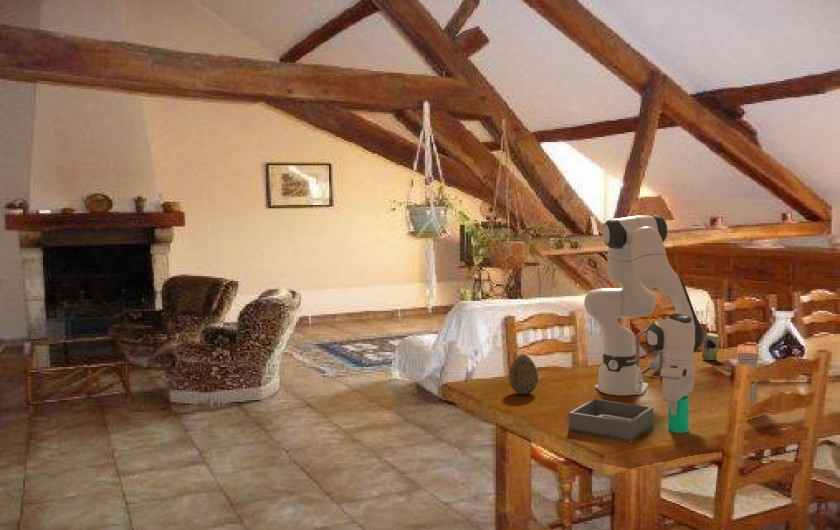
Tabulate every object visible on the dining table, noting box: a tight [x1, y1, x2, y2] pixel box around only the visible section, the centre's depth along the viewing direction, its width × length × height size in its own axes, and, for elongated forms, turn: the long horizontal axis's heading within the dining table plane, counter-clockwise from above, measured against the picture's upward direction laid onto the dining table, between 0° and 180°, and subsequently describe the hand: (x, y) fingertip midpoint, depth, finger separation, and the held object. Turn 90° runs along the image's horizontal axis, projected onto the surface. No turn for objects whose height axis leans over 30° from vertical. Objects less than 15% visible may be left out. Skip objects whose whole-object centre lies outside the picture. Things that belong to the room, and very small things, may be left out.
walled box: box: [568, 398, 654, 442], centre depth 243 cm, size 20×20×6 cm
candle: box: [667, 395, 690, 434], centre depth 241 cm, size 6×6×12 cm
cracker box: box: [736, 344, 758, 403], centre depth 263 cm, size 14×6×21 cm, turn 159°
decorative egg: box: [508, 353, 539, 396], centre depth 286 cm, size 11×11×15 cm
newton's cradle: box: [635, 327, 665, 380], centre depth 321 cm, size 30×10×18 cm, turn 149°
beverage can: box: [701, 332, 720, 361], centre depth 341 cm, size 6×7×12 cm
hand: (678, 410), depth 241 cm, fingers open, 8 cm apart
